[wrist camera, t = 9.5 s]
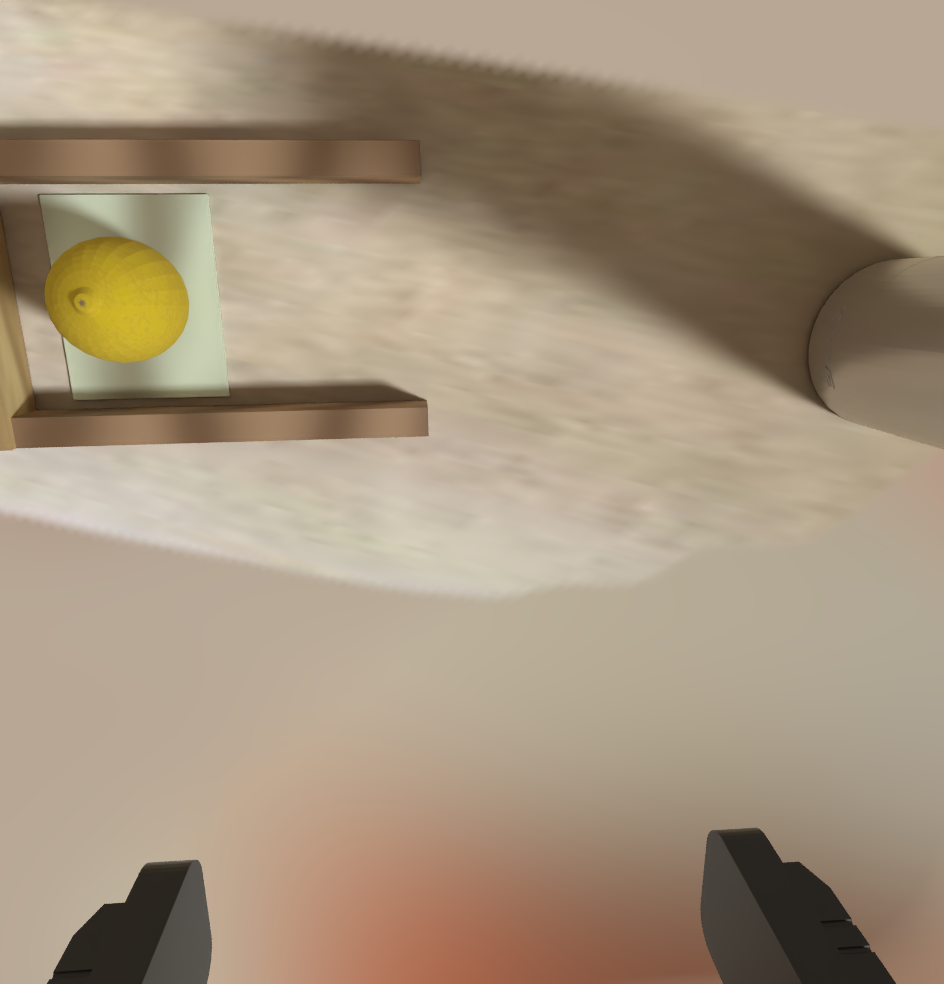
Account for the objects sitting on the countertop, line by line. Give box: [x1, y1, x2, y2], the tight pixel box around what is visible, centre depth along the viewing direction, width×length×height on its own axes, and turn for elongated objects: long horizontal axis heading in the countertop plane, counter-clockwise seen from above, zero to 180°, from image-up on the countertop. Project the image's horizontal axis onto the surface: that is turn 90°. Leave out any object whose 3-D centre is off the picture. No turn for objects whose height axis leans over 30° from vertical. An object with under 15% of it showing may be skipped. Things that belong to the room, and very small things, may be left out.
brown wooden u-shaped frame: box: [0, 139, 428, 451], centre depth 35 cm, size 22×14×3 cm, turn 91°
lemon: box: [44, 237, 189, 363], centre depth 32 cm, size 6×6×8 cm
